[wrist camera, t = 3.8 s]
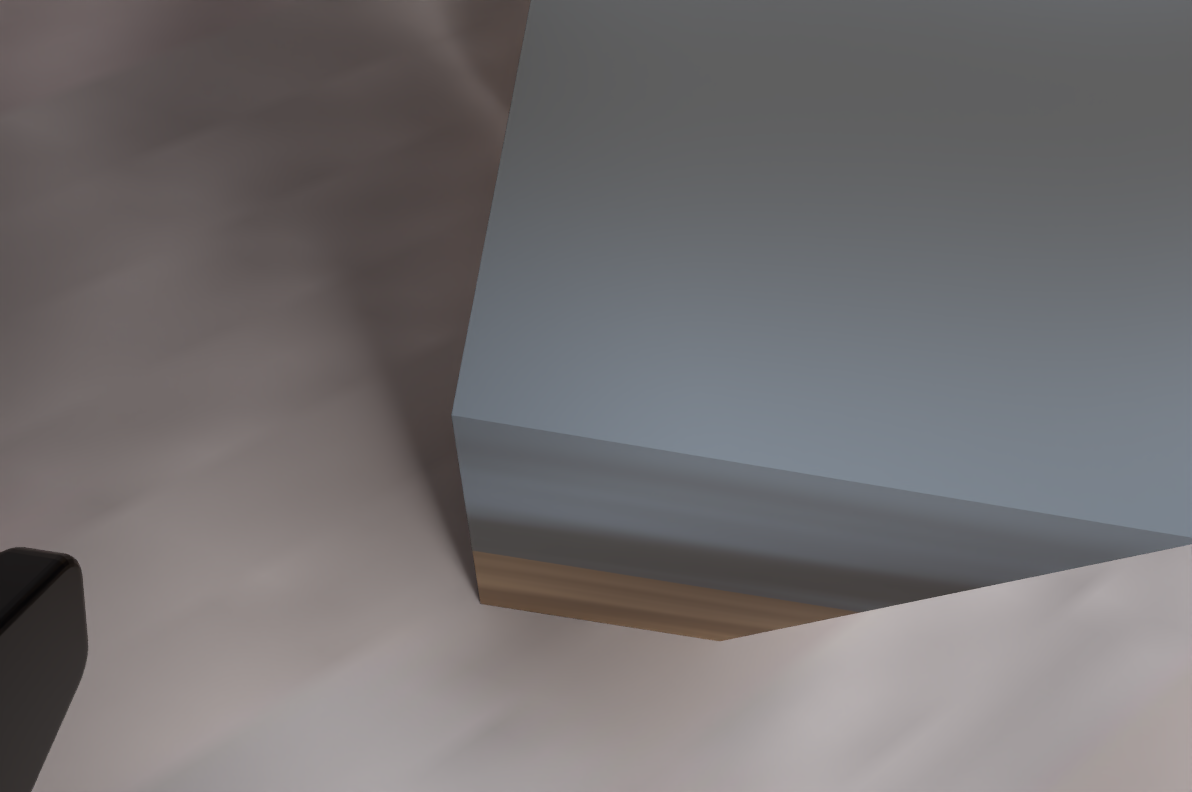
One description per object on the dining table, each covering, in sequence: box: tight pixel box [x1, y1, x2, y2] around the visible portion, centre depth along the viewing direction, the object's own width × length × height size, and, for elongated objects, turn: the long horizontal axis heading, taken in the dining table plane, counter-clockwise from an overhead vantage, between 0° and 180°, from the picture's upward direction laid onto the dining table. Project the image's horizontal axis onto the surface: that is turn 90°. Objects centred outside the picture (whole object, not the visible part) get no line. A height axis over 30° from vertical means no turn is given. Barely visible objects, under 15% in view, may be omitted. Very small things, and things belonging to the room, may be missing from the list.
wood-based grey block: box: [451, 0, 1192, 641], centre depth 12 cm, size 4×4×12 cm
